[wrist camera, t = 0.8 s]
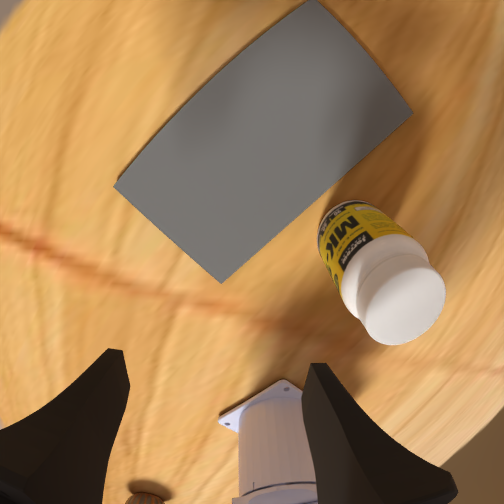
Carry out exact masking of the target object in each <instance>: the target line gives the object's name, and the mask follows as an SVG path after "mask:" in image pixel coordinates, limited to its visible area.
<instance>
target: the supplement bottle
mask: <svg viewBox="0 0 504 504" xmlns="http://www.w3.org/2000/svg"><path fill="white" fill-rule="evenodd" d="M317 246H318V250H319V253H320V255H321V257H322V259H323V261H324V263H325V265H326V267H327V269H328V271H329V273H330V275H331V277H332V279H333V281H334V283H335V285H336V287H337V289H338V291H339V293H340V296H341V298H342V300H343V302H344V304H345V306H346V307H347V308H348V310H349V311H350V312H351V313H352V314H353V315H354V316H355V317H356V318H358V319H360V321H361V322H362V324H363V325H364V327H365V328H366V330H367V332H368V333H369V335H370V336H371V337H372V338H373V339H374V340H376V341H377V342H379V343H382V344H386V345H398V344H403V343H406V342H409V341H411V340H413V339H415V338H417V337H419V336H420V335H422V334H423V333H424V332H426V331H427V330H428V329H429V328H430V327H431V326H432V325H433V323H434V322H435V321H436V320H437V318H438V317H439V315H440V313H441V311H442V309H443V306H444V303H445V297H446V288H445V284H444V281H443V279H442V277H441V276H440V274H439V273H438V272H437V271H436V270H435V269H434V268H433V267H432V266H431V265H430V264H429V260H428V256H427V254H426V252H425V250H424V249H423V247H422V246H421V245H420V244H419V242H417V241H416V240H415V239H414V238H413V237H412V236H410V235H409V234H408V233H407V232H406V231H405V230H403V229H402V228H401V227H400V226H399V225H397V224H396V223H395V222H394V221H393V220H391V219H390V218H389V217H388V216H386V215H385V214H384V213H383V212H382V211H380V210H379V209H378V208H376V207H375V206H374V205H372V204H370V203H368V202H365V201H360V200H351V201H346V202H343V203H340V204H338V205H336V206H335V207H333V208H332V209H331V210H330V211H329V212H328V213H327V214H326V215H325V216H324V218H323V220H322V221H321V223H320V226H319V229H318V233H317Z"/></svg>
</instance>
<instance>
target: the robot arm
mask: <svg viewBox="0 0 504 504" xmlns="http://www.w3.org/2000/svg"><path fill="white" fill-rule="evenodd" d="M286 387H288V388H286ZM129 390H130V382H129V378H128V374H127V369H126V365H125V360H124V355H123V350H116V349H110V348H108V349H107V350H106V351H105V352H104V353H103V354H102V355H101V356H100V357H99V358H98V359H97V360H96V361H95V362H94V363H93V364H92V365H91V366H90V367H89V368H88V369H87V370H86V371H85V372H84V373H82V374H81V375H80V376H79V377H78V378H77V379H76V380H75V381H74V382H73V383H72V384H71V385H70V386H68V387H67V388H66V389H65V390H64V391H63V392H61V393H60V394H59V395H58V396H57V397H55V398H54V399H53V400H52V401H50V402H49V403H48V404H46V405H45V406H43V407H42V408H40V409H39V410H37V411H36V412H34V413H32V414H31V415H29V416H27V417H26V418H24V419H22V420H20V421H19V422H17V423H14V424H12V425H10V426H8V427H6V428H4V429H1V430H0V504H102V498H103V491H104V483H105V477H106V471H107V466H108V461H109V457H110V453H111V450H112V447H113V444H114V441H115V438H116V435H117V432H118V429H119V426H120V423H121V420H122V417H123V414H124V412H125V409H126V404H127V400H128V395H129ZM218 423H220V424H221V425H223V426H225V427H227V428H229V429H231V430H233V431H235V432H237V433H238V449H239V497H238V498H232V504H448V503H449V502H451V501H452V500H453V499H454V498H455V497H456V496H457V494H458V490H457V487H456V484H455V482H454V479H453V477H452V475H451V474H450V472H448V471H445V470H443V469H441V468H439V467H437V466H435V465H433V464H431V463H429V462H427V461H425V460H423V459H422V458H420V457H418V456H417V455H415V454H414V453H412V452H410V451H409V450H408V449H406V448H405V447H403V446H402V445H401V444H399V443H398V442H396V441H395V440H394V439H393V438H391V437H390V436H389V435H388V434H387V433H386V432H384V431H383V430H382V429H381V428H380V427H379V426H378V425H377V424H376V423H375V422H374V421H373V420H372V419H371V418H370V417H369V416H368V415H367V414H366V413H365V412H364V411H363V410H362V408H361V407H360V406H359V405H358V404H357V403H356V401H355V400H354V399H353V398H352V397H351V395H350V394H349V393H348V392H347V390H346V389H345V388H344V386H343V385H342V384H341V382H340V381H339V380H338V378H337V377H336V376H335V374H334V373H333V372H332V370H331V369H330V367H329V366H328V365H327V364H326V363H311V364H310V368H309V372H308V375H307V379H306V382H305V386H304V389H303V391H302V390H300V389H299V388H297V387H296V386H294V385H293V384H291V383H290V382H288V381H287V380H279V381H278V382H276V383H274V384H273V385H271V386H270V387H268V388H267V389H265V390H263V391H262V392H260V393H259V394H257V395H255V396H254V397H252V398H250V399H249V400H247V401H245V402H244V403H242V404H240V405H239V406H237V407H235V408H234V409H232V410H230V411H228V412H227V413H225V414H223V415H221V416H220V417H218Z"/></svg>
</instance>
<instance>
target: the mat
mask: <svg viewBox="0 0 504 504" xmlns="http://www.w3.org/2000/svg"><path fill="white" fill-rule="evenodd" d="M412 114H413V112H412V110H411V109H410V108H409V106H408V105H407V103H406V102H405V101H404V99H403V98H402V96H401V95H400V94H399V92H398V91H397V90H396V88H395V87H394V86H393V84H392V83H391V82H390V80H389V79H388V78H387V77H386V75H385V74H384V73H383V72H382V70H381V69H380V68H379V67H378V65H377V64H376V63H375V62H374V60H373V59H372V58H371V57H370V56H369V55H368V53H367V52H366V51H365V50H364V49H363V48H362V46H361V45H360V44H359V43H358V42H357V41H356V40H355V39H354V38H353V36H352V35H351V34H350V33H349V32H348V31H347V30H346V29H345V28H344V27H343V26H342V25H341V24H340V23H339V22H338V21H337V20H336V19H335V18H334V17H333V16H332V15H331V14H330V13H329V12H328V11H327V10H326V9H325V8H324V7H323V6H322V5H321V4H320V3H319V2H318V1H317V0H308V1H307V2H305V3H304V4H303V5H301V6H300V7H298V8H297V9H296V10H294V11H293V12H291V13H290V14H289V15H287V16H286V17H285V18H283V19H282V20H281V21H279V22H278V23H277V24H276V25H274V26H273V27H272V28H270V29H269V30H268V31H267V32H265V33H264V34H263V35H262V36H260V37H259V38H258V39H257V40H255V41H254V42H253V43H252V44H251V45H249V46H248V47H247V48H246V49H245V50H243V51H242V52H241V53H240V54H239V55H238V56H237V57H235V58H234V59H233V60H232V61H231V62H230V63H229V64H227V65H226V66H225V67H224V68H223V69H222V70H221V71H220V72H219V73H218V74H216V75H215V76H214V77H213V78H212V79H211V80H210V81H209V82H208V83H207V84H206V85H205V86H204V87H203V88H202V89H201V90H200V91H199V92H197V93H196V94H195V95H194V96H193V97H192V98H191V99H190V100H189V101H188V102H187V103H186V104H185V105H184V106H183V107H182V108H181V110H180V111H179V112H178V113H177V114H176V115H175V116H174V117H173V118H172V119H171V120H170V121H169V122H168V123H167V124H166V125H165V126H164V127H163V128H162V130H161V131H160V132H159V133H158V134H157V135H156V136H155V137H154V138H153V140H152V141H151V142H150V143H149V144H148V145H147V146H146V147H145V149H144V150H143V151H142V152H141V153H140V154H139V156H138V157H137V158H136V159H135V160H134V161H133V163H132V164H131V165H130V166H129V167H128V169H127V170H126V171H125V172H124V173H123V175H122V176H121V177H120V178H119V180H118V181H117V182H116V183H115V185H114V186H113V187H114V188H115V189H116V190H117V191H118V192H119V193H120V194H122V195H123V196H124V197H125V198H126V199H127V200H128V201H129V202H130V203H131V204H132V205H133V206H134V207H135V208H137V209H138V210H139V211H140V212H141V213H142V214H143V215H144V216H145V217H146V218H147V219H149V220H150V221H151V222H152V223H153V224H154V225H155V226H156V227H157V228H158V229H160V230H161V231H162V232H163V233H164V234H165V235H166V236H167V237H168V238H169V239H171V240H172V241H173V242H174V243H175V244H176V245H177V246H178V247H180V248H181V249H182V250H183V251H184V252H185V253H186V254H187V255H189V256H190V257H191V258H192V259H193V260H194V261H195V262H197V263H198V264H199V265H200V266H201V267H202V268H203V269H205V270H206V271H207V272H208V273H209V274H210V275H211V276H213V277H214V278H215V279H216V280H217V281H218V282H220V283H221V284H222V283H223V282H224V281H225V280H226V279H228V278H229V277H230V276H231V275H232V274H233V273H234V272H235V271H237V270H238V269H239V268H240V267H241V266H242V265H243V264H245V263H246V262H247V261H248V260H249V259H250V258H251V257H252V256H254V255H255V254H256V253H257V252H258V251H259V250H260V249H261V248H263V247H264V246H265V245H266V244H267V243H268V242H269V241H271V240H272V239H273V238H274V237H275V236H276V235H277V234H278V233H280V232H281V231H282V230H283V229H284V228H285V227H286V226H287V225H289V224H290V223H291V222H292V221H293V220H294V219H295V218H297V217H298V216H299V215H300V214H301V213H302V212H303V211H304V210H306V209H307V208H308V207H309V206H310V205H311V204H312V203H313V202H315V201H316V200H317V199H318V198H319V197H320V196H321V195H322V194H324V193H325V192H326V191H327V190H328V189H329V188H330V187H331V186H333V185H334V184H335V183H336V182H337V181H338V180H339V179H340V178H342V177H343V176H344V175H345V174H346V173H347V172H348V171H349V170H351V169H352V168H353V167H354V166H355V165H356V164H357V163H358V162H360V161H361V160H362V159H363V158H364V157H365V156H366V155H367V154H369V153H370V152H371V151H372V150H373V149H374V148H375V147H376V146H377V145H379V144H380V143H381V142H382V141H383V140H384V139H385V138H386V137H388V136H389V135H390V134H391V133H392V132H393V131H394V130H395V129H397V128H398V127H399V126H400V125H401V124H402V123H403V122H404V121H405V120H407V119H408V118H409V117H410V116H411V115H412Z"/></svg>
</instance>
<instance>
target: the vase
mask: <svg viewBox="0 0 504 504" xmlns="http://www.w3.org/2000/svg"><path fill="white" fill-rule="evenodd" d="M125 504H165V503H164V502H163V501H162V500H161V499H160V498H159V497H157V496H155V495H152V494H148V493H136V494H134V495H132V496H131V497H129V499H128V500H127V501H126V503H125Z"/></svg>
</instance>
